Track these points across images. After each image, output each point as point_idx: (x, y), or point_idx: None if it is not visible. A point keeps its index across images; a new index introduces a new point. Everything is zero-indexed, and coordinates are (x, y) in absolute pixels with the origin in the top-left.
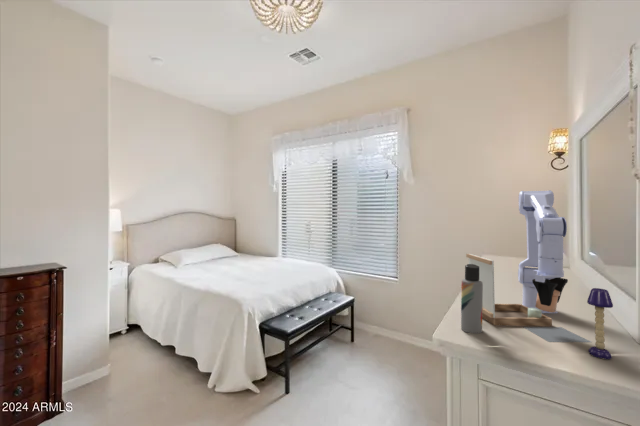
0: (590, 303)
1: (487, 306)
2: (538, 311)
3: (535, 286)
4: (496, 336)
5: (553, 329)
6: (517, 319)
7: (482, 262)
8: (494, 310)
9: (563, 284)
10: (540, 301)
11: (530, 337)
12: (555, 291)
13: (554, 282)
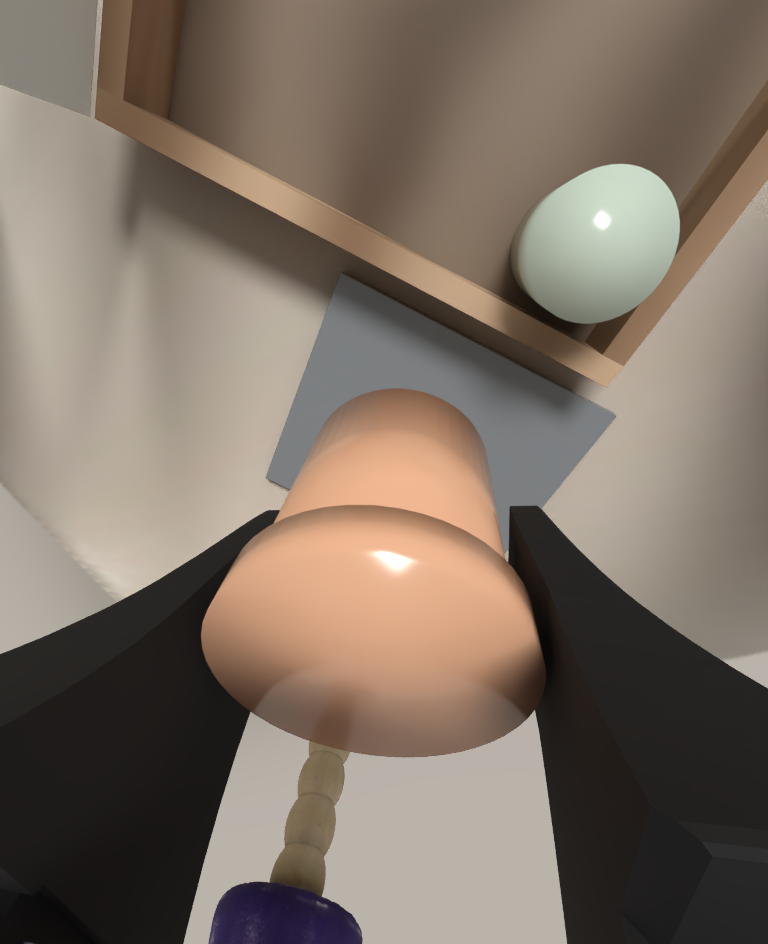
0: (219, 904)
1: None
2: (557, 311)
3: (14, 657)
4: (42, 280)
5: (504, 411)
6: (312, 232)
7: None
8: (15, 88)
9: (568, 928)
10: (250, 524)
11: (244, 390)
12: (385, 730)
13: (581, 867)
